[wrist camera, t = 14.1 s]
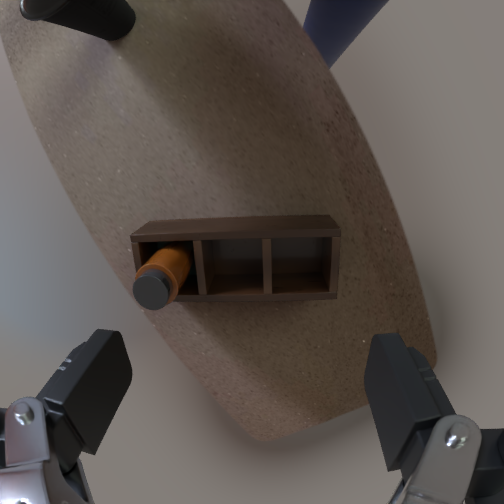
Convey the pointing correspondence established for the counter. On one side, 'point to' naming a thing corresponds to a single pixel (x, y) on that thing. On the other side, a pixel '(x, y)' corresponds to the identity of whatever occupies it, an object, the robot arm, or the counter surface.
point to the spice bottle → (164, 274)
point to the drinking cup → (83, 15)
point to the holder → (251, 256)
